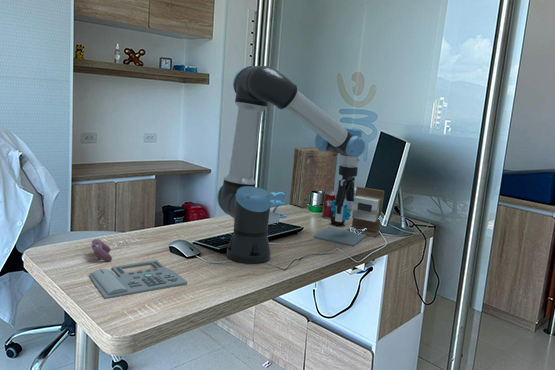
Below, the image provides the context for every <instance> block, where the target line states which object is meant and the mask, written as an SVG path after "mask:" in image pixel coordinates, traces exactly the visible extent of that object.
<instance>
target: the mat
mask: <svg viewBox="0 0 555 370" xmlns="http://www.w3.org/2000/svg"><path fill="white" fill-rule="evenodd" d="M366 237H367V235H365V234H359V235H358V234H355V233H353V232H350V231H348V230H345V229H339V228H337V227H336V228H335V227H330V226H328V227H326V228H325V229H323V230H322V231H319V232H318V233H317V234H314V235H313V238H314V239H318V240H322V241H327V242H330V243H331V242H332V243H335V244H342V245H346V246H350V247H355V246H356V245H357V244H359V243H360V242H361V241H362V240H363V239H365V238H366Z"/></svg>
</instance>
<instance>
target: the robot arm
mask: <svg viewBox="0 0 555 370" xmlns="http://www.w3.org/2000/svg"><path fill="white" fill-rule="evenodd" d="M232 81H233V82H232V86H233V91H234V93H235V101H234V103H235V105H236V106H237V108H238V109H237V116H236V122H235V130H234V137H233V142H232V143H233V144H232V150H231V158H230V164H229V172H228V174H227V175H226V176H224V178H223V183H222V186H220V187H219V189H218V191H217V195H216V200H217V204H218V206H219V207H220V209H221V210H222V211H223V213H225V214H226V215H228V216H231V217H232V219H233V220H234V221H233V232H232V236H231V238H230V241H229V243H228V246H227V248H226V256H227V258H228V259H229V260H231V261H233V262H238V263H243V264H263V263H265V262H269V260H270V259H271V253H272V251H271V247H270V241H269V238H268V231H269V230H268V229H269V223H268V221H269V211H270V212H271V205H270V200H271V199H270V198H271V195H269V193H270V192H268V191H267V190H266V189H264V188H262V187H261V188H260V187H258V186H256V183H257V182H256V180H255V179H254V177H253V175H254V167H255V162H256V158H257V150H258V143H259V142H258V141H259V137H260V136H259V135H260V129H261V122H262V115H263V112H264V111H265V110H267V108H268V105H269V104H271V105H273V106H274V107H276V108H278V109H279V110H281V111H282V110H285V111H287V112H288V113H289V114H290V115H292V116H293V117H295V118H296V119H297V120H298V121H300V122H301V123H302V124H303V125H305V126H306V127H308V128H309V129H310V130H312V131H313V132H314V133H316V135H315V138H314V145H315V147H316V148H317V149H318V150H321V151H332V152H335V153H338V154H340V155H339V163H338V164H339V166H338V175H340V176H341V177H342V178H341V180H340V179H339V180H338V187H337V192H336V193H337V196H336V201H335V205H337V207H336V217H335V221H338V222H342V217H343V208H344V206H343V203H344V200H345V196H346V200H347V201H345V205H346V204H347V206H348V207H347V208H346V209H350V208H351V206H352V201H354V188H355V181H356V180H355V179H356V177H357V176H358V169H359V167H358V166H359V162H361V159H360V157H361V155H363V154H364V151H365V149H366V142H365V140H364V139H363V138H362V135H363V133H362V129H361V128H358V127H351V126H350V127H348V126H344V127H343V126H342V125H341V124H340V123H338V122H337V121H336V120H335V119H333V118H332V117H331V116H330V115H329V114H327V112H325V111H324V110H323V109H321V108H320V107H318V106H317V105H316V104H315V103H314V102H312V100H310V99H309V98H308V97H306V96H305V95H304V94H303V93H302V92H300V91H299V86H297V84H295V83H294V82H293V81H292V80H290V79H289V78H288V77H287V76H286V75H284V74H283V73H281V72H280V71H279V70H277V69H276V68H275V67H272V66H268V65H248V66H246V67H243V68H240V70H239V71H238V72H236V74H235V76H234V78H233V80H232ZM349 213H350V214H351V215H352V211H350V212H349ZM347 216H348V215H347Z"/></svg>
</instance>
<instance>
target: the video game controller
mask: <svg viewBox="0 0 555 370" xmlns="http://www.w3.org/2000/svg"><path fill="white" fill-rule="evenodd" d="M91 244H92V245H91V249H92V252H93V254H94V255H95V256H96V258H97V259H98V260H102V261H103V262H112V259H113V257H112V255H111V254H109V253H110V252H111V248H110V246H109V245H107V244H106V243H105V242H104V241H102V240H101V239H100V238H94V239H93V240H91Z"/></svg>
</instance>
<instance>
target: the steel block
mask: <svg viewBox="0 0 555 370" xmlns="http://www.w3.org/2000/svg"><path fill="white" fill-rule="evenodd" d="M280 214H281V213H279V214H278V213H277V212H275V213H273V212H272V211H270V212H269V221H268V225H269V224H270V225H271V224H272V225H274V224H273V223H277V224H279V223H280V219H281V218H280ZM278 222H279V223H278Z"/></svg>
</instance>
